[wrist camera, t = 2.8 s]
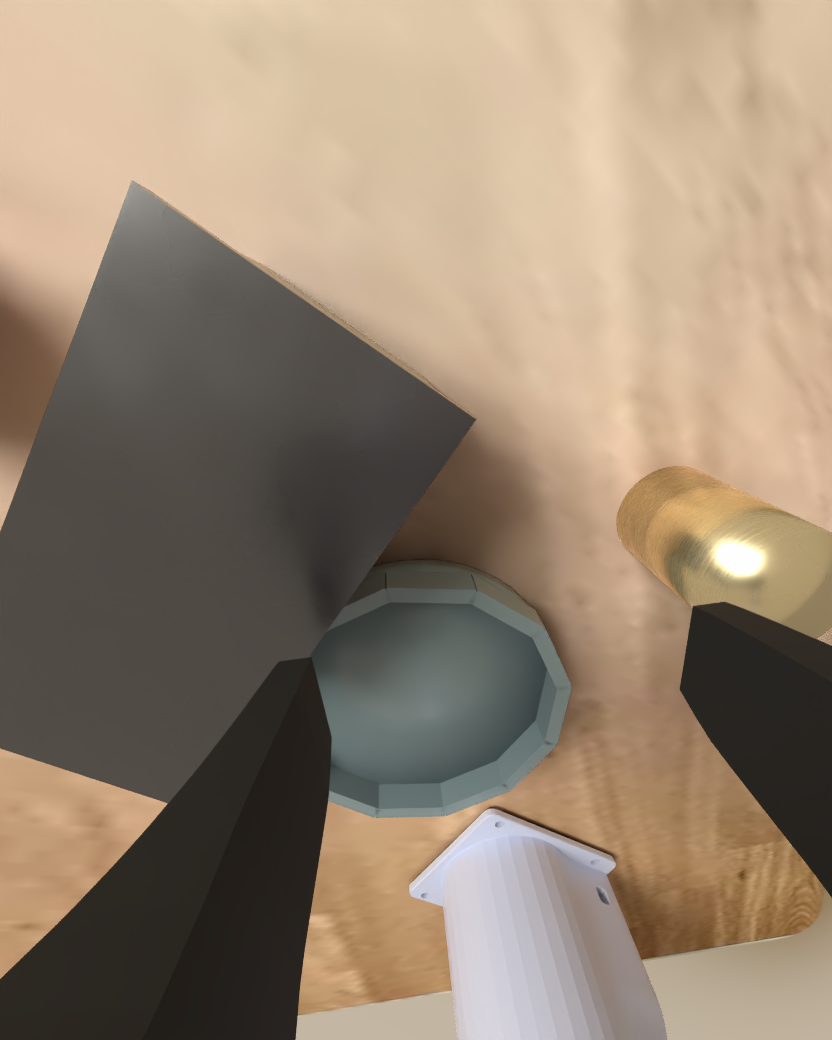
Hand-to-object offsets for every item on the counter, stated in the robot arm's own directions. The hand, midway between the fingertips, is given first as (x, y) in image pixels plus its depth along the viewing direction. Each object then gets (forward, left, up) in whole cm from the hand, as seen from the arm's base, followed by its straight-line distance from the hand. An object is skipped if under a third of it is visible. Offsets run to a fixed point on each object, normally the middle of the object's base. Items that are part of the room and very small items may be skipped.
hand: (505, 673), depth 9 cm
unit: (+6, +3, -9) cm, 11 cm away
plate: (-4, +8, -9) cm, 13 cm away
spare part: (-8, -4, -9) cm, 13 cm away
